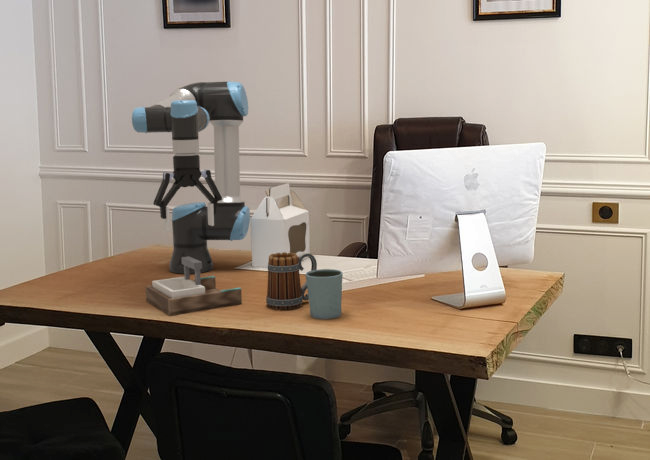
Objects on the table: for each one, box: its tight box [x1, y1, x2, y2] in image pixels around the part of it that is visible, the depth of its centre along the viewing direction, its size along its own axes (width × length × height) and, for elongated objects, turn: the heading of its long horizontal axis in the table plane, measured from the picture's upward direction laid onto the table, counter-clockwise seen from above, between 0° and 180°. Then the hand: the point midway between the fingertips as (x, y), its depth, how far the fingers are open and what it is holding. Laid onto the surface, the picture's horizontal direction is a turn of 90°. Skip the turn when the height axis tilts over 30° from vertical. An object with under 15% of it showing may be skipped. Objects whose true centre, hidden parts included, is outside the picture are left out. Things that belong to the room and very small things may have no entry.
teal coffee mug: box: [305, 268, 343, 320], centre depth 231 cm, size 10×10×12 cm
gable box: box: [250, 182, 311, 269], centre depth 302 cm, size 22×13×28 cm, turn 158°
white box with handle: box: [151, 256, 205, 299], centre depth 245 cm, size 11×16×12 cm, turn 31°
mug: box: [265, 252, 318, 311], centre depth 242 cm, size 16×11×15 cm
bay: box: [145, 275, 243, 317], centre depth 248 cm, size 22×20×5 cm
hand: (189, 227), depth 244 cm, fingers open, 13 cm apart
